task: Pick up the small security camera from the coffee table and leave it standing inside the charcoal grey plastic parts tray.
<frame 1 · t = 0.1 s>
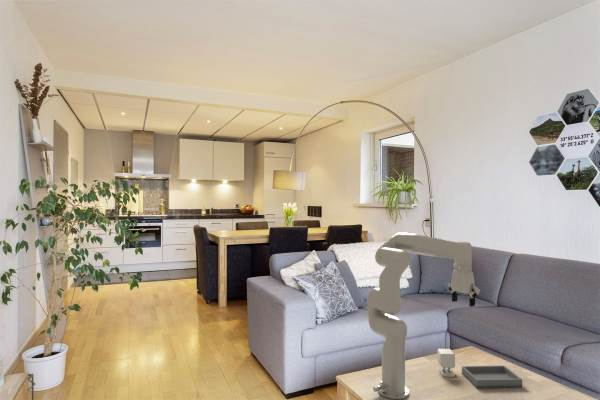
hand: (463, 303, 184), 31 cm above the table, tool pointing down, fingers open, 9 cm apart
parts tray: (490, 380, 172), on the table
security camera: (446, 373, 180), on the table
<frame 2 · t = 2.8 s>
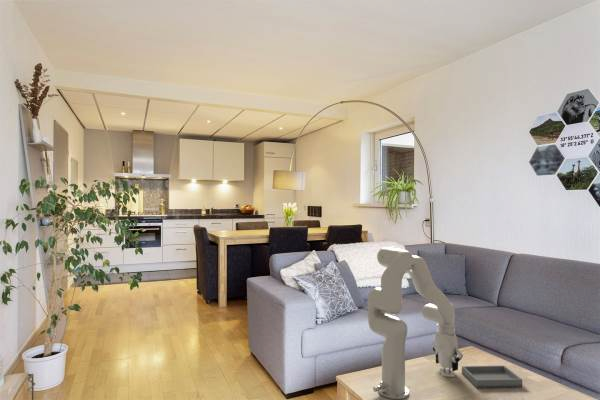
hand: (446, 366, 180), 3 cm above the table, tool pointing down, fingers closed on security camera, 8 cm apart
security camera: (446, 373, 179), on the table, touching gripper
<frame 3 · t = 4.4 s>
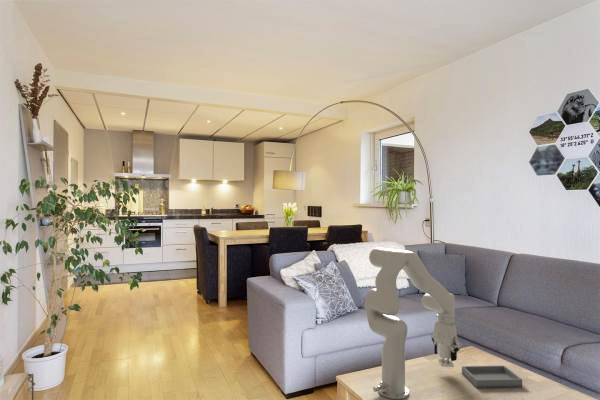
hand: (445, 356, 179), 8 cm above the table, tool pointing down, fingers closed on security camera, 8 cm apart
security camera: (445, 364, 179), point 4 cm above the table, touching gripper
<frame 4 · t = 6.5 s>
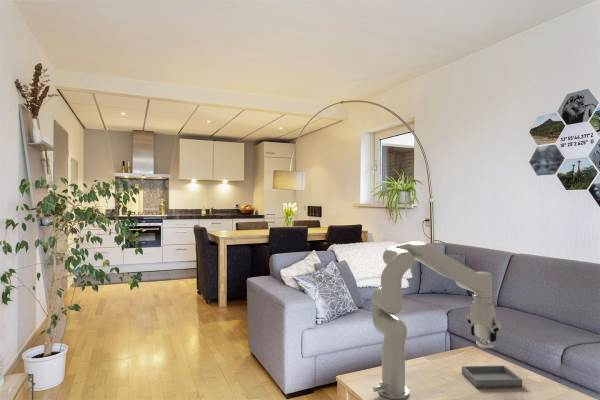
hand: (483, 337, 173), 19 cm above the table, tool pointing down, fingers closed on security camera, 8 cm apart
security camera: (483, 345, 173), point 15 cm above the table, touching gripper
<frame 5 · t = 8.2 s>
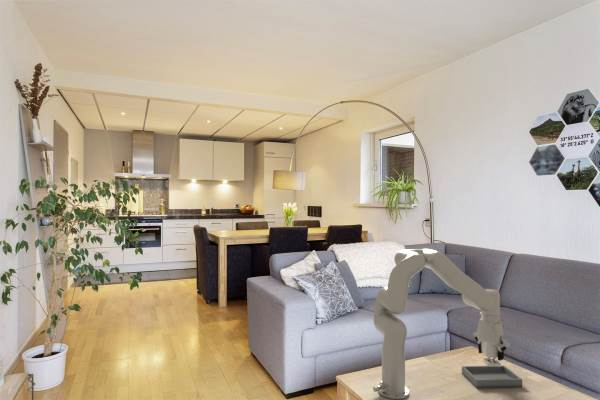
hand: (490, 356, 172), 11 cm above the table, tool pointing down, fingers closed on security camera, 8 cm apart
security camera: (491, 363, 172), point 8 cm above the table, touching gripper
when the fingers open (5 cm above the table, at t = 10.0 s): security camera stays where it is, resting on parts tray.
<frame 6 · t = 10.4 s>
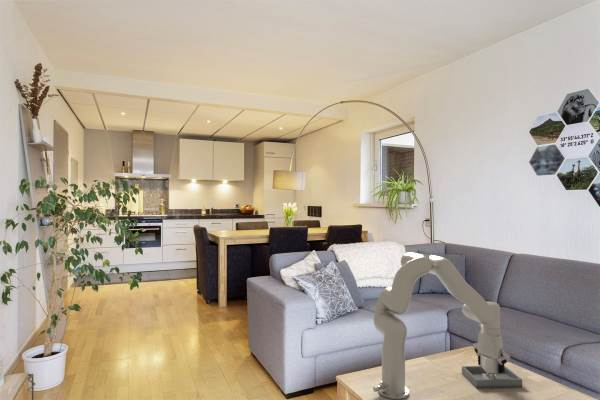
hand: (490, 368, 172), 5 cm above the table, tool pointing down, fingers open, 9 cm apart
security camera: (490, 378, 172), point 1 cm above the table, touching parts tray
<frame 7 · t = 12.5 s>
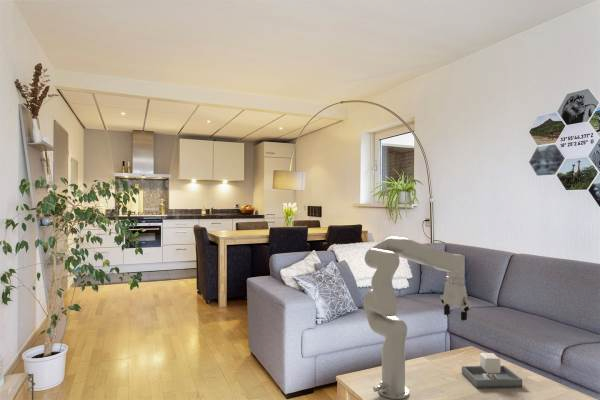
hand: (455, 317, 180), 26 cm above the table, tool pointing down, fingers open, 9 cm apart
nothing on the table moved.
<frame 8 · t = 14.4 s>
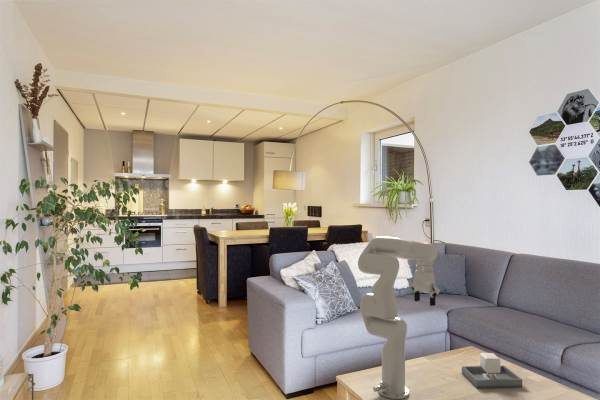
hand: (424, 303, 188), 30 cm above the table, tool pointing down, fingers open, 9 cm apart
nothing on the table moved.
at the end: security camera 0.5 cm from the parts tray (horizontally); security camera point 0.8 cm above the table; the gripper is holding nothing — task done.
